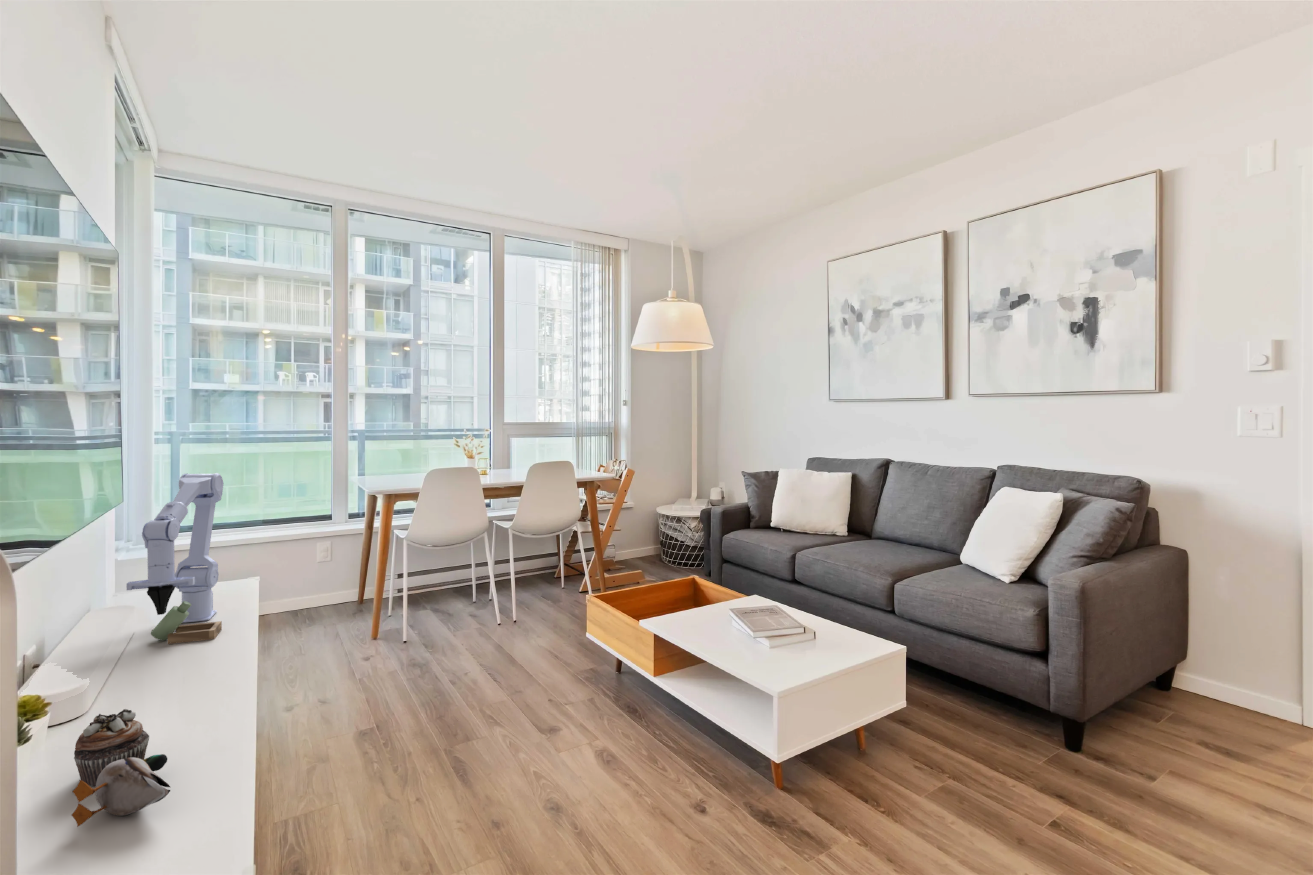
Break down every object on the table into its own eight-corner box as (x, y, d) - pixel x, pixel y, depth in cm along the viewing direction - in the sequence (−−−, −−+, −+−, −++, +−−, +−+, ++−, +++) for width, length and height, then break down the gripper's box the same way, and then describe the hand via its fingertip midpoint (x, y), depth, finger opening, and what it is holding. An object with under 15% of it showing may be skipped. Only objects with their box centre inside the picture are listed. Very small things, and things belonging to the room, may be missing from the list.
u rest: (177, 634, 172) (177, 625, 172) (221, 629, 177) (221, 621, 176) (167, 644, 165) (167, 634, 165) (214, 638, 169) (214, 629, 169)
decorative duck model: (145, 734, 105) (227, 735, 104) (143, 780, 104) (226, 781, 103) (52, 775, 90) (146, 777, 89) (49, 829, 90) (144, 832, 88)
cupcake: (69, 797, 98) (68, 734, 98) (79, 769, 106) (79, 711, 105) (147, 777, 103) (146, 718, 103) (151, 752, 111) (151, 697, 111)
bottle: (153, 629, 169) (182, 597, 171) (169, 637, 170) (197, 605, 172) (148, 634, 165) (177, 601, 167) (164, 642, 166) (192, 609, 168)
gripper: (121, 569, 161) (122, 620, 161) (189, 564, 166) (189, 614, 167) (131, 563, 167) (132, 613, 167) (196, 559, 173) (197, 607, 173)
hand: (161, 613), depth 168 cm, fingers closed
